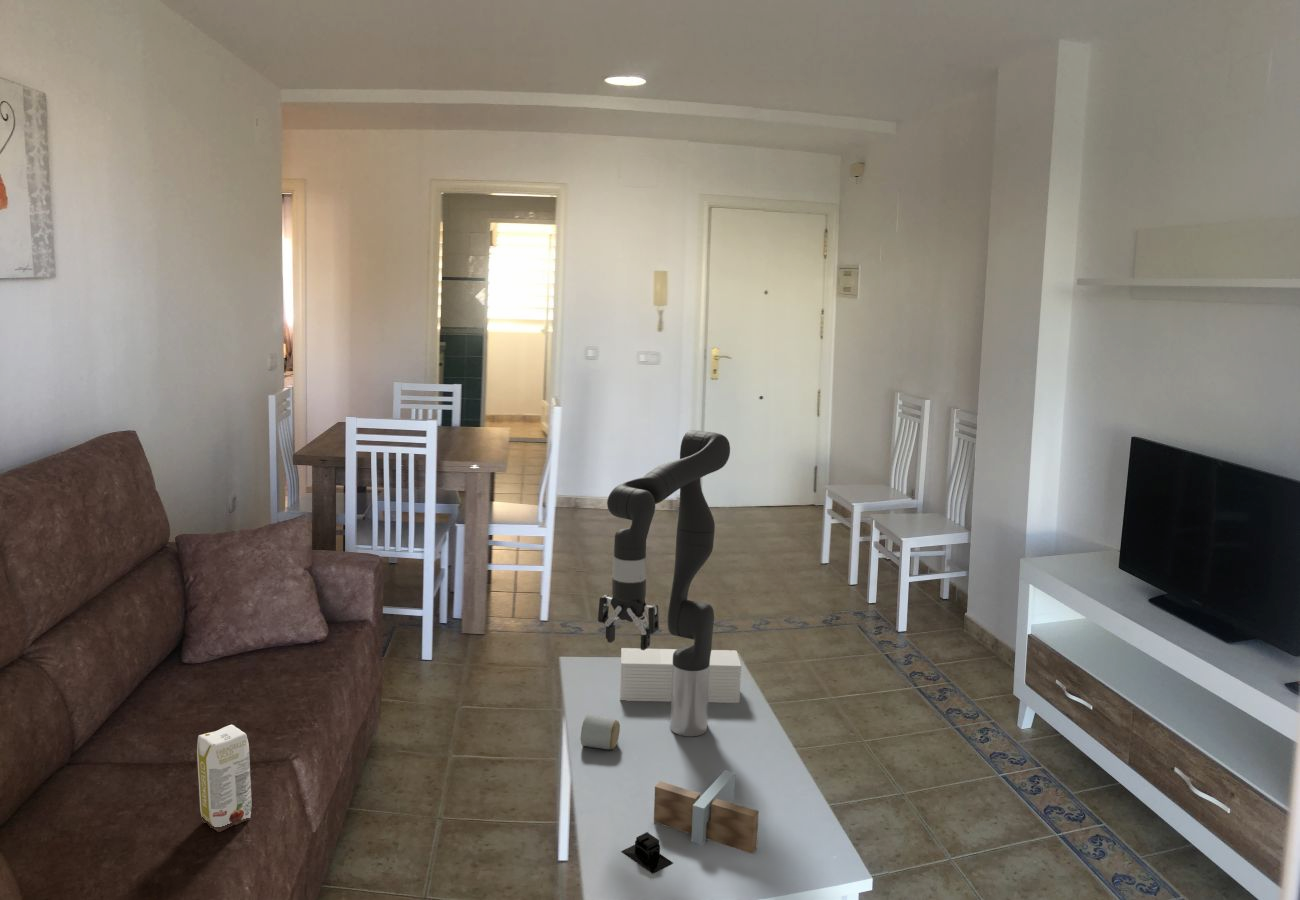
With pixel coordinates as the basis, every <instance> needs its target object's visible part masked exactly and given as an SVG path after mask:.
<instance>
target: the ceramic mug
mask: <svg viewBox="0 0 1300 900" xmlns="http://www.w3.org/2000/svg"><path fill="white" fill-rule="evenodd" d="M620 727H621V726H620V721H618V720H617V719H615V718H611V717H608V716H604V715H602V716H601V715H599V714H595V713H589V712H588V713H587V714H586V715H585V716H584V719H583V721H582V725H581V728H580V729H581V731H580V745H581V746H582V747H588V748H594V749H595V748H596V749H602V750H613V749H615V748H616V747H617V744H618V740H619V738H620V737H619V736H620V732H621V731H620V729H621V728H620Z"/></svg>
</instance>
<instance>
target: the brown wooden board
mask: <svg viewBox="0 0 1300 900" xmlns="http://www.w3.org/2000/svg"><path fill="white" fill-rule="evenodd" d="M700 797H701V793H700V792H697V791H694V790H691V789H687V788H683V787H679V786H677V785H674V784H670V783H667V782H664V781H659V782H658V783H657V784H656V785H655V786H654V800H653V801H654V805H653V806H654V807H653V808H654V809H653V810H654V811H653V823H656V824H659V825H662V826H665V827H668V828H671V829H674V830H677V831H681V832H684V833H688V834H689V835H692V816H693V805H694V804H695V802H696V801H697V800H698V799H699V798H700ZM759 814H760V813H759V810H757V809H753V808H751V807H747V806H744V805H740V804H737V803H735V802H734V803H730V802H727V801H724V800H720V799H717V798H716V799H715V800H714V801H713V803H712V804H711V818H710V819H709V821H708V822H707V825H706V840H707V841H712V842H714V843H718V844H721V845H723V846H724V845H725V846H727V847H730V848H733V849H736V850H739V851H742V852H745V853H748V854H752V855H753V853H754V852H755V851H756V850H757V848H758V833H759V832H758V830H759Z"/></svg>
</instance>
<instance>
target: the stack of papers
mask: <svg viewBox="0 0 1300 900" xmlns="http://www.w3.org/2000/svg"><path fill="white" fill-rule="evenodd" d="M677 649H678V648H647V649H645V650H641V647H640V648H636V647H635V648H634V647H633V648H632V647H621V651H620V689H619V691H620V692H619V701H620V700H626V702H629V701H631V702H635V701H636V702H671V695H672V666H673V654H674V652H675V651H676V650H677ZM741 675H742V664H741V660H740V658H739V654H738V651H737V650H733V649H732V650H729V649H711V655H710V667H709V691H708V703H723V704H724V703H732V704H739V703H740V696H741V695H740V693H741V679H742V678H741V677H742V676H741Z"/></svg>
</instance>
